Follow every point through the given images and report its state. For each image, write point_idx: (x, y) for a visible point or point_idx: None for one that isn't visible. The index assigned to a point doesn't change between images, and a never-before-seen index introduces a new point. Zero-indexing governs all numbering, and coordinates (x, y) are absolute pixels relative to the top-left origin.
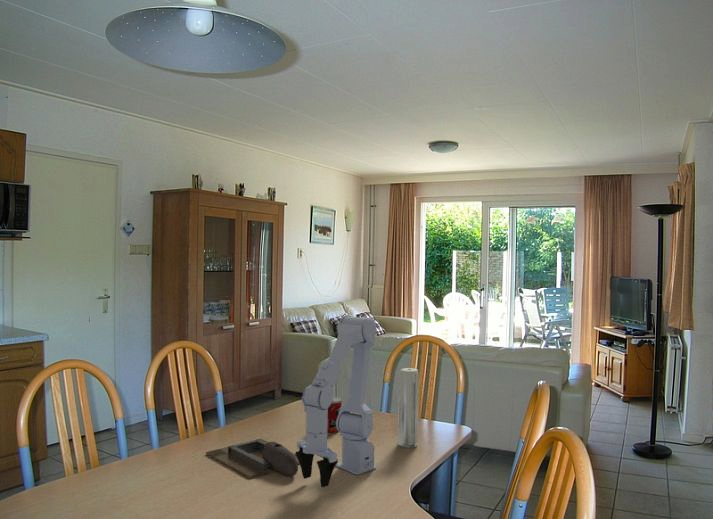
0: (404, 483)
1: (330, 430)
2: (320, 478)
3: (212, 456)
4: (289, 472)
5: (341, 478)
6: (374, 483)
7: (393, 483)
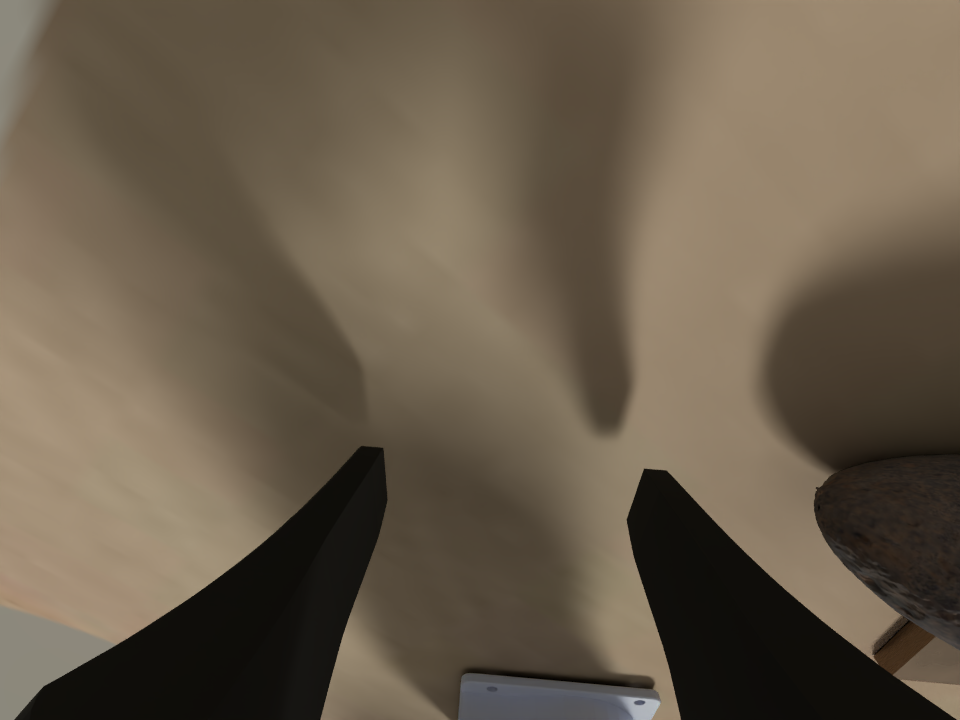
0: None
1: None
2: (340, 503)
3: None
4: (895, 475)
5: (498, 615)
6: None
7: None
